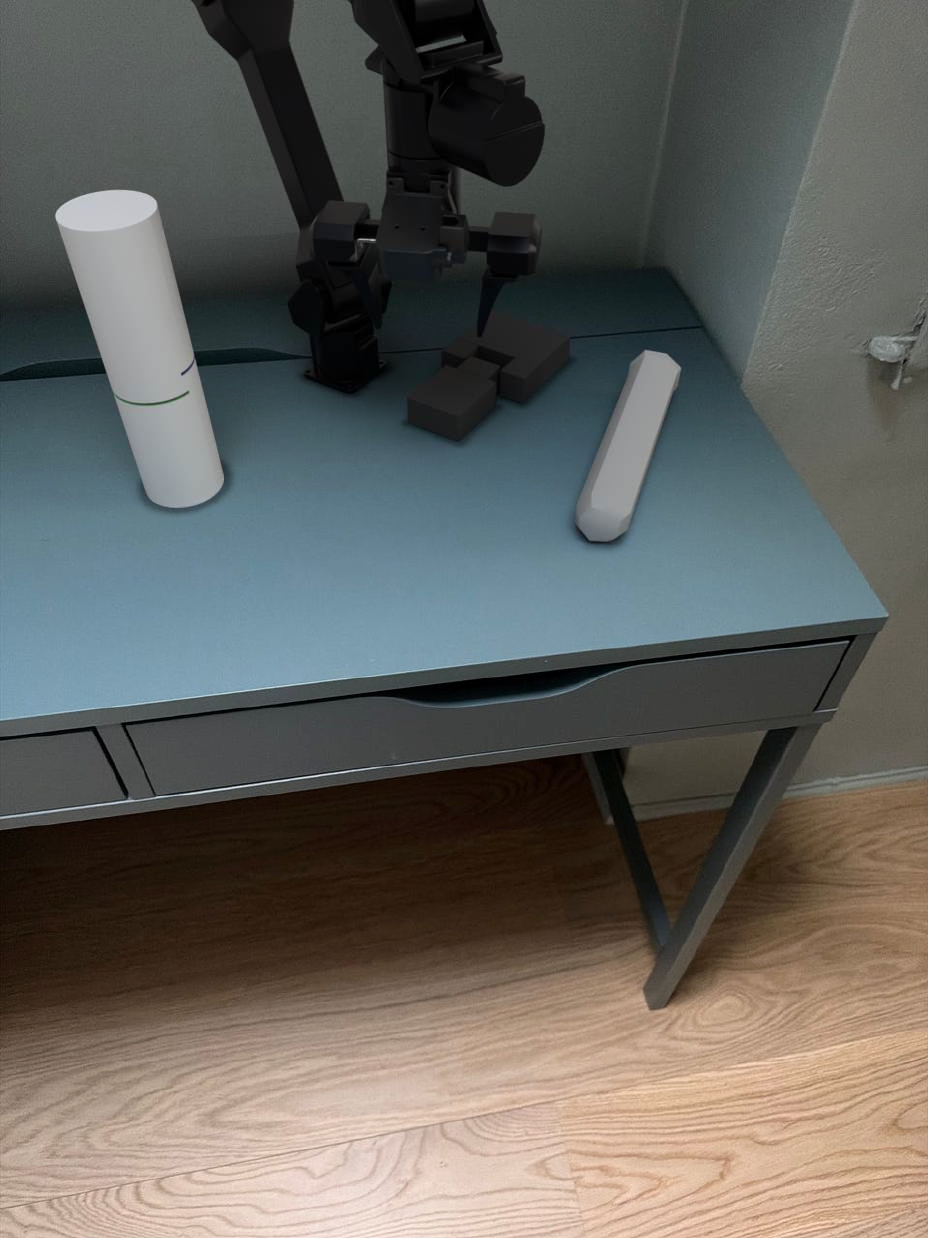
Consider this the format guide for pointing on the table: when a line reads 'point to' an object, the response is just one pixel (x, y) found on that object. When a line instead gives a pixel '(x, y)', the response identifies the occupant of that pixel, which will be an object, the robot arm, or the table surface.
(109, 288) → the cylindrical container
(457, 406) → the pad
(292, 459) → the table surface
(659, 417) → the tube
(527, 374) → the notch pad
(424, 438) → the table surface
